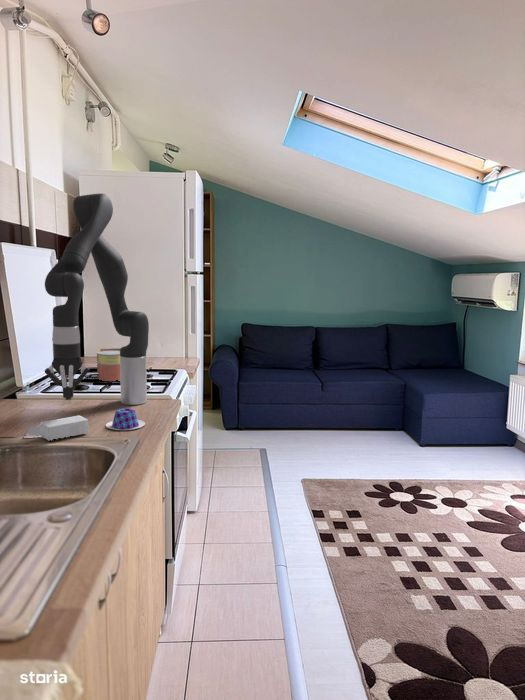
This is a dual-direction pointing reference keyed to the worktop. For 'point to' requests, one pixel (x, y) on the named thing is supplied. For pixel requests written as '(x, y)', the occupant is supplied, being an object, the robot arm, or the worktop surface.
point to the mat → (34, 431)
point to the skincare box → (64, 427)
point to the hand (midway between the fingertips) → (68, 399)
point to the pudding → (125, 420)
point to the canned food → (109, 365)
